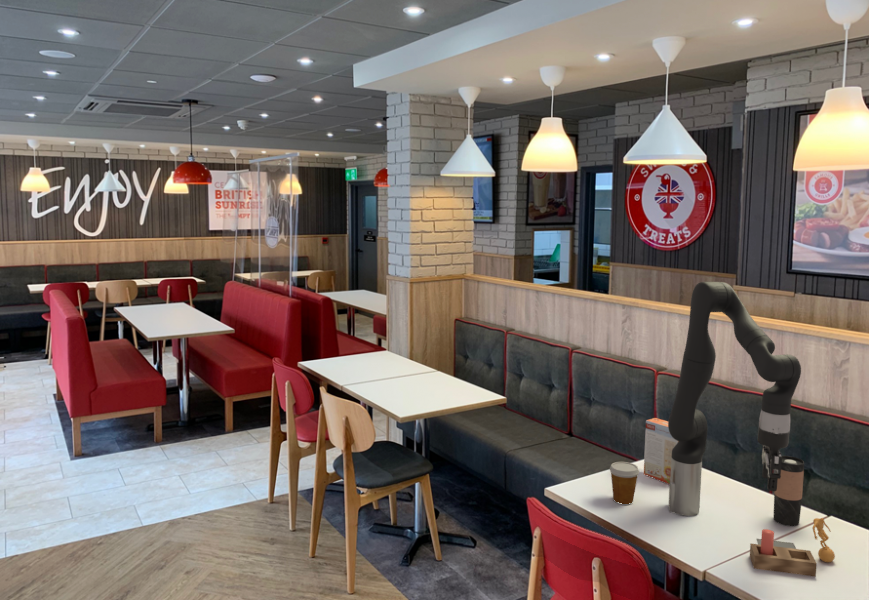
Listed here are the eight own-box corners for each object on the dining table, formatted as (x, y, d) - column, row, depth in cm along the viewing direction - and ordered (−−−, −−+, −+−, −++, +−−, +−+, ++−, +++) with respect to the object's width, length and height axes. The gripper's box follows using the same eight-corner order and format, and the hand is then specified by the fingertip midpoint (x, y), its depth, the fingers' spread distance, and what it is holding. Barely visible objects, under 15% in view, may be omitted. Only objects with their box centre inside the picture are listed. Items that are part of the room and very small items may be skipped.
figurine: (826, 569, 185) (829, 527, 184) (803, 560, 190) (806, 519, 189) (840, 559, 190) (843, 519, 189) (817, 551, 195) (821, 511, 194)
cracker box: (686, 483, 243) (689, 426, 240) (675, 487, 239) (678, 429, 236) (653, 471, 254) (656, 416, 251) (642, 474, 251) (645, 419, 248)
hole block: (753, 569, 185) (754, 555, 185) (749, 556, 192) (750, 543, 192) (815, 577, 181) (816, 563, 181) (809, 564, 188) (810, 550, 187)
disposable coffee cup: (626, 493, 235) (627, 459, 233) (644, 504, 226) (645, 469, 224) (602, 497, 231) (603, 463, 230) (619, 508, 222) (621, 473, 221)
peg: (760, 566, 187) (763, 533, 186) (758, 561, 190) (761, 528, 188) (772, 568, 186) (775, 535, 185) (770, 562, 189) (772, 530, 188)
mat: (760, 552, 194) (761, 551, 194) (756, 539, 202) (756, 538, 202) (799, 557, 192) (800, 556, 192) (793, 543, 199) (793, 542, 199)
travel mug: (803, 528, 209) (808, 465, 206) (776, 526, 210) (780, 463, 208) (795, 517, 216) (800, 456, 214) (769, 515, 218) (773, 454, 215)
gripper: (755, 417, 193) (750, 472, 196) (763, 434, 180) (758, 492, 182) (784, 420, 191) (779, 475, 193) (795, 437, 178) (789, 496, 180)
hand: (769, 484), depth 188 cm, fingers open, 8 cm apart
